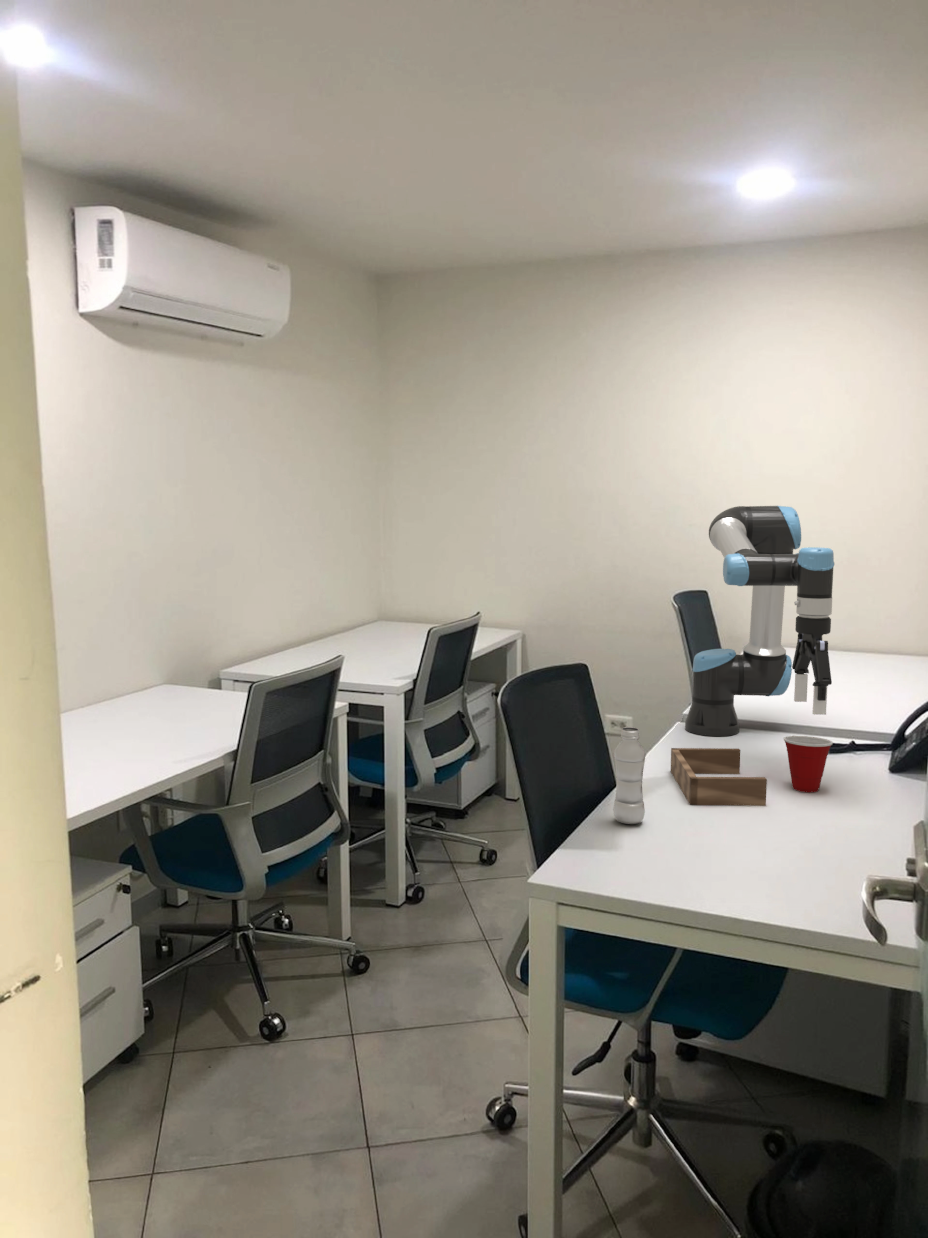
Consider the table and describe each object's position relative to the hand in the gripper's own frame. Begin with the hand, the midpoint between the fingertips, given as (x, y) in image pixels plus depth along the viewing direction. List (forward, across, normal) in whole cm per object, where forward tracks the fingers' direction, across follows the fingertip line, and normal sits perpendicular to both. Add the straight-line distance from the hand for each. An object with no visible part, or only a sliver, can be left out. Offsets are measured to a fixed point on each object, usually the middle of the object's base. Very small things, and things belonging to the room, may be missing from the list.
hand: (809, 707), depth 218 cm
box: (+19, 0, -20) cm, 28 cm away
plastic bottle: (+20, +24, -44) cm, 54 cm away
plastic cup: (+20, 0, 0) cm, 20 cm away
